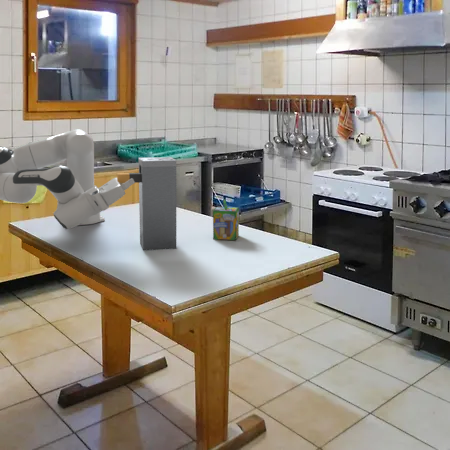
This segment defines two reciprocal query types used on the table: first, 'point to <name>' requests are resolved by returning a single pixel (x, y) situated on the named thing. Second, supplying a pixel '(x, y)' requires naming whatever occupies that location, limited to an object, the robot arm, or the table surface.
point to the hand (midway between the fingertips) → (132, 178)
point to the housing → (157, 203)
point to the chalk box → (225, 222)
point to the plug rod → (128, 177)
